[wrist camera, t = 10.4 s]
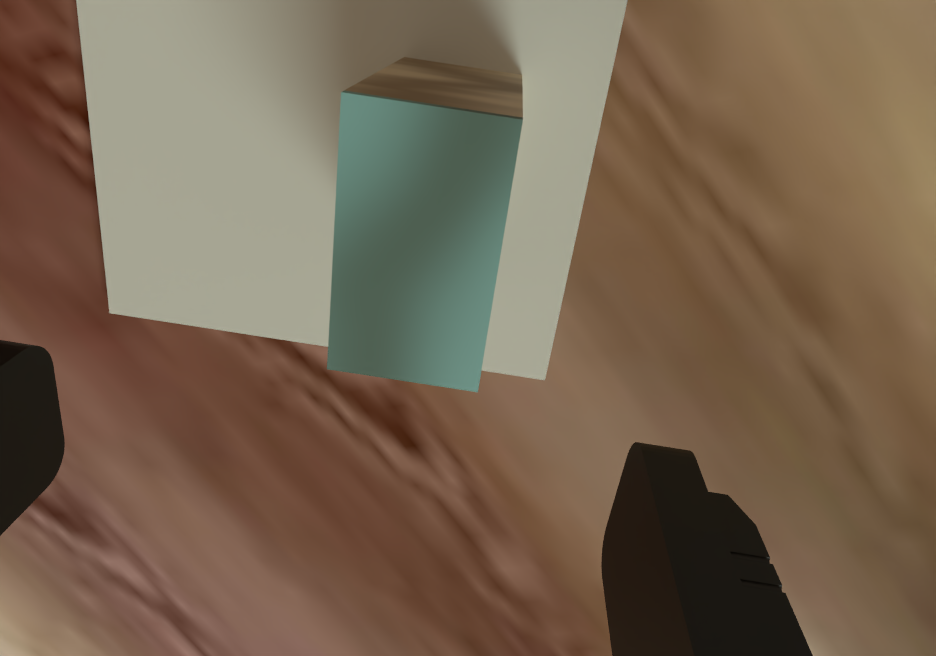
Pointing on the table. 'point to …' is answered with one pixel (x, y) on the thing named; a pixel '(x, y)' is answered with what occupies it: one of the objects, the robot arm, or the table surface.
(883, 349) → the table surface
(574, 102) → the mat
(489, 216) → the block
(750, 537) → the robot arm
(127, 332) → the table surface
